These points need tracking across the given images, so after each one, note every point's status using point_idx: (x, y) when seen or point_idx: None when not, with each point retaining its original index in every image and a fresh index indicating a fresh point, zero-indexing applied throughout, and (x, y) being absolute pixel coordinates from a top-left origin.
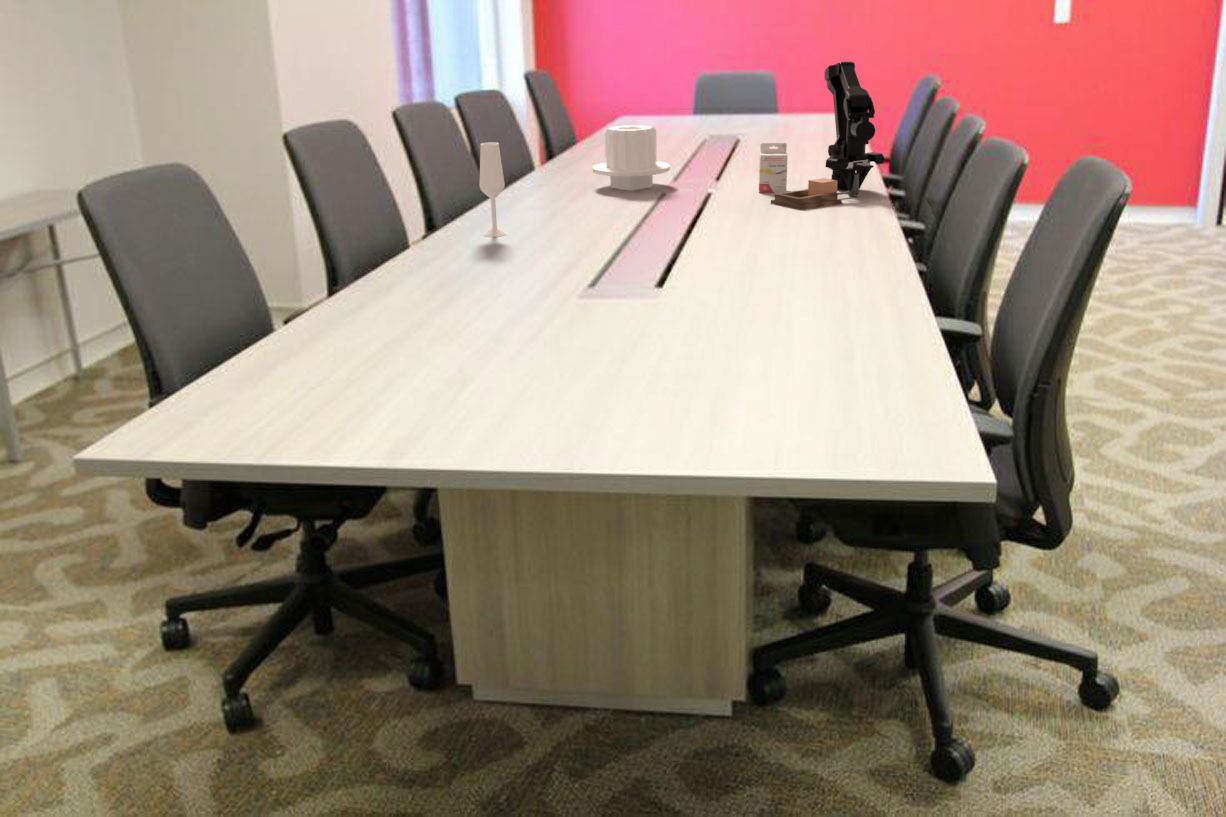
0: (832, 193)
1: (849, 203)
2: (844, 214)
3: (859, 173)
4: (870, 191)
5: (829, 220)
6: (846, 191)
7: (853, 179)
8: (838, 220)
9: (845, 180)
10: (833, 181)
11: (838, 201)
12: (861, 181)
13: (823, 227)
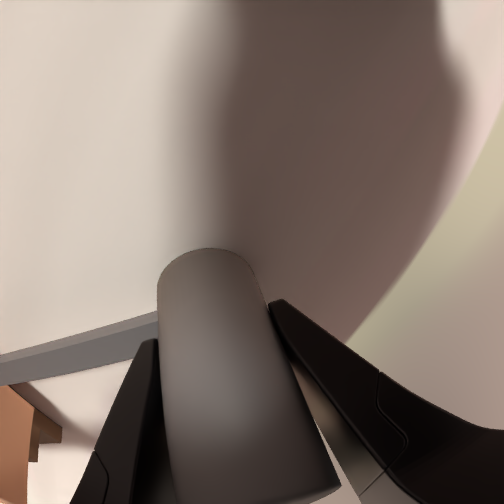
0: None
1: (100, 430)
2: (67, 484)
3: (324, 496)
4: (452, 136)
5: (36, 489)
6: (125, 331)
7: None
8: (54, 494)
9: (104, 440)
10: (4, 501)
11: (46, 441)
12: (312, 409)
13: (31, 497)
